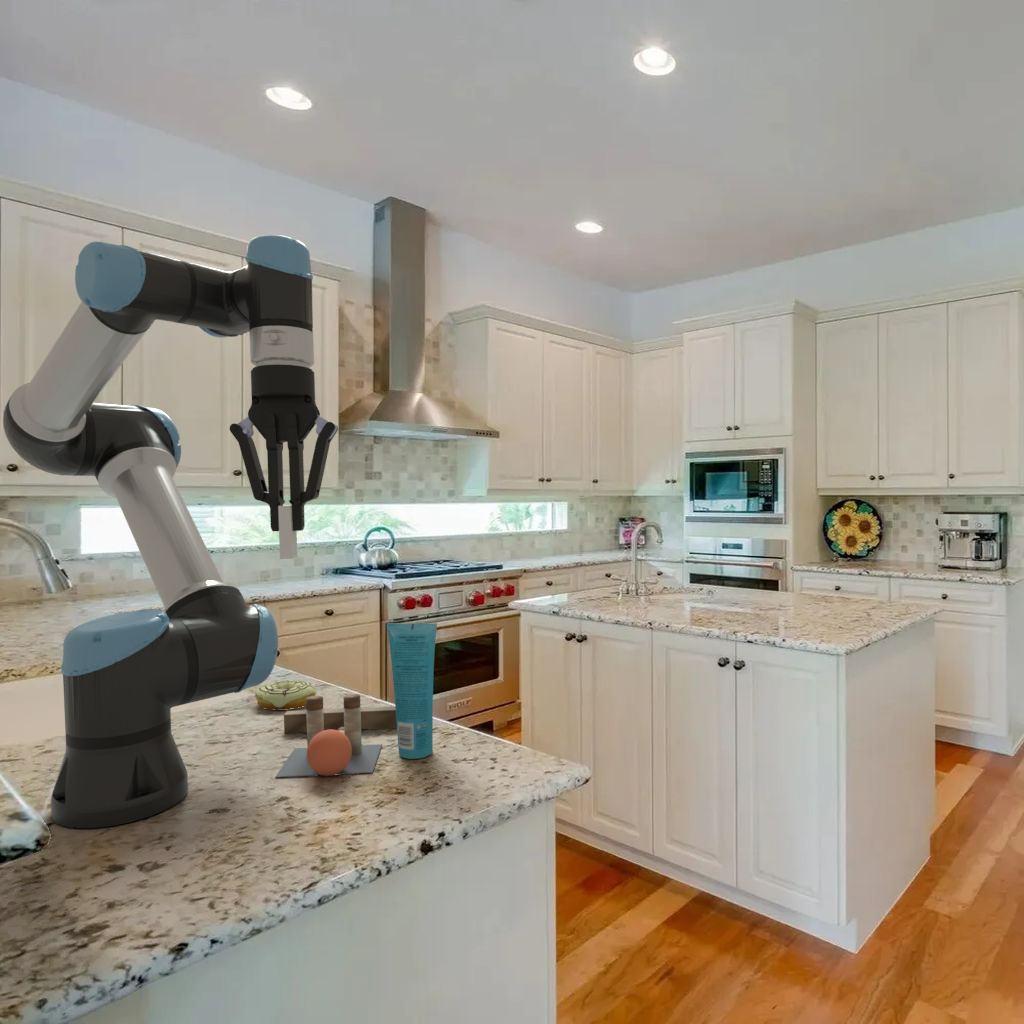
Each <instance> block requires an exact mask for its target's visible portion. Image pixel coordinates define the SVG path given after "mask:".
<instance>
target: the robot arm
mask: <svg viewBox="0 0 1024 1024" xmlns="http://www.w3.org/2000/svg"><path fill="white" fill-rule="evenodd" d="M309 250H310V249H308V246H307V245H305V244H304V243H303V242H302V241H300V240H298V239H295V238H292V237H289V236H285V235H280V234H279V235H278V234H271V235H270V234H267V235H259V236H255V237H253V238H251V239H250V240H249V241H248V244H247V247H246V257H245V261H246V266H243V267H242V268H238V269H236V270H233V271H227V270H226V271H225V270H222V269H221V270H220V269H217V268H214V267H209V266H206V265H202V264H197V263H193V262H189V261H183V260H180V259H176V258H171V257H167V256H165V255H161V254H157V253H152V252H149V251H144V250H142V249H137V248H135V247H132V246H129V245H124V244H119V245H118V244H113V243H109V242H103V241H92V242H89V243H88V244H86V245H85V246H84V247H83V248H82V249H81V251H80V253H79V254H78V257H77V258H78V262H77V264H76V266H75V271H74V272H75V274H74V276H75V277H74V281H75V282H74V283H75V288H76V292H77V295H78V297H79V299H80V303H79V305H78V306H77V308H76V310H75V311H74V313H73V314H72V316H71V317H70V319H69V321H68V322H67V323H66V326H65V327H64V328H63V330H62V332H61V334H59V337H58V338H57V340H56V341H55V342H54V344H53V346H52V348H51V349H50V350H49V352H48V354H46V357H45V358H44V360H43V361H42V362H41V365H40V366H39V367H38V369H37V371H36V373H35V374H34V376H33V377H32V379H31V381H29V382H26V383H24V384H22V385H20V386H18V387H17V388H16V389H15V390H14V391H13V392H12V394H11V395H10V397H9V399H8V400H7V403H6V405H5V407H4V410H3V417H2V418H3V419H2V424H3V425H2V426H3V429H4V434H5V437H6V439H7V441H8V442H9V444H10V446H11V448H12V449H13V450H14V451H15V452H16V453H17V455H18V456H19V457H20V458H21V459H23V460H24V461H26V462H27V463H28V465H31V466H32V467H34V468H36V469H39V470H41V471H42V472H45V473H48V474H53V475H58V476H72V477H73V476H75V477H77V476H82V477H94V478H96V481H97V483H98V486H99V488H100V489H101V491H103V493H104V494H106V495H108V496H109V497H111V498H116V500H117V502H118V504H119V507H120V509H121V512H122V513H123V516H124V519H125V521H126V522H127V525H128V527H129V529H130V532H131V535H132V536H133V538H134V542H135V543H136V546H137V548H138V551H139V552H140V555H141V557H142V560H143V563H144V564H145V566H146V568H147V571H148V573H149V576H150V578H151V580H152V583H153V584H154V587H155V589H156V591H157V594H158V596H159V598H160V601H161V604H162V605H163V608H164V609H163V610H162V609H156V608H153V609H152V608H151V609H150V608H149V609H147V608H146V609H138V610H134V611H124V612H119V613H114V614H110V615H106V616H102V617H99V618H96V619H92V620H90V621H86V622H84V623H81V624H79V625H78V626H76V627H74V628H73V629H71V630H70V631H69V632H68V633H67V634H66V636H65V637H64V640H63V644H62V645H63V647H62V664H61V666H60V670H61V674H62V682H63V703H64V705H63V706H64V728H65V729H64V730H65V752H64V756H63V759H62V761H61V765H60V768H59V771H58V775H57V777H56V779H55V780H56V781H55V783H54V787H53V790H52V793H51V796H50V797H51V798H50V813H51V814H50V818H51V820H52V821H53V822H54V823H55V824H56V825H59V826H61V827H62V826H63V827H65V826H67V827H66V828H71V829H72V828H74V827H76V828H75V829H94V828H95V829H96V828H106V827H111V826H117V825H122V824H128V823H131V822H135V821H136V822H137V821H139V820H143V819H145V818H149V817H151V816H155V815H157V814H160V813H161V812H163V811H166V810H167V809H170V808H171V807H173V806H175V805H176V804H178V803H179V802H181V801H182V800H183V799H184V798H185V797H186V796H187V794H188V792H189V777H188V770H187V768H186V765H185V763H184V760H183V758H182V756H181V753H180V750H179V749H178V746H177V743H176V741H175V739H174V736H173V734H172V733H173V732H172V720H171V719H172V718H171V717H172V711H171V710H172V709H171V708H175V707H179V706H182V705H187V704H191V703H196V702H199V701H203V700H207V699H208V700H209V699H212V698H216V697H220V696H223V695H224V696H225V695H229V694H234V693H235V694H237V693H241V692H242V691H244V690H246V689H250V688H252V687H257V686H259V685H261V684H262V683H264V682H265V681H266V680H267V679H268V678H270V677H269V676H270V675H271V674H272V672H273V670H274V668H275V665H276V663H277V657H278V648H279V635H278V634H279V633H278V628H277V627H278V626H277V623H276V620H275V618H274V616H273V614H272V612H271V610H269V608H267V607H266V606H262V605H261V604H256V603H253V604H251V605H248V604H247V603H246V602H247V601H246V600H245V598H244V596H243V594H242V593H241V590H240V589H239V588H238V587H237V586H235V585H233V584H230V583H224V580H223V578H222V577H221V574H220V573H219V570H218V568H217V566H216V564H215V562H214V560H213V558H212V556H211V554H210V552H209V549H208V548H207V546H206V544H205V542H204V539H203V537H202V535H201V533H200V531H199V529H198V527H197V526H196V523H195V521H194V519H193V517H192V516H191V515H192V514H191V513H190V511H189V509H188V507H187V505H186V503H185V501H184V498H183V496H182V495H181V492H180V490H179V489H178V488H179V487H178V485H177V484H176V481H175V480H174V476H175V474H176V471H177V468H178V466H179V464H180V461H181V456H182V444H180V443H179V441H180V439H181V438H180V434H179V431H178V428H177V426H176V424H175V423H174V421H173V420H172V419H171V417H170V416H169V415H168V414H167V413H165V412H164V411H163V410H161V409H158V408H155V407H154V408H153V407H145V406H143V405H139V404H131V405H123V404H109V403H100V402H95V401H96V399H97V398H98V397H99V395H100V394H101V393H102V391H103V390H104V389H105V388H106V387H107V384H108V383H109V382H110V381H111V379H112V378H113V377H114V375H115V374H116V373H117V371H118V370H119V369H120V367H121V366H122V365H123V363H124V362H125V361H126V359H127V358H128V357H129V355H130V354H131V352H132V351H133V350H134V348H135V347H136V345H138V343H139V341H140V340H141V339H142V338H143V336H144V335H145V334H146V332H147V331H148V330H149V329H150V328H151V327H152V325H153V324H154V322H155V321H156V320H158V321H164V322H170V323H171V322H172V323H176V324H183V325H188V326H193V327H198V328H199V329H201V330H202V331H203V332H204V333H206V334H208V335H209V336H212V337H215V338H228V337H229V338H231V337H232V338H234V337H238V336H242V335H244V334H247V333H248V332H249V353H250V355H249V356H250V363H251V364H252V365H254V367H253V368H252V369H251V370H250V389H251V390H250V391H251V394H250V395H251V405H250V408H249V409H248V412H247V416H246V417H245V418H244V419H242V420H241V421H239V422H238V423H232V424H231V425H229V431H230V432H231V434H232V436H233V437H234V438H235V440H236V442H237V443H238V446H239V449H240V452H241V456H242V459H243V463H244V467H245V470H246V474H247V477H248V481H249V485H250V488H251V492H252V495H253V498H254V500H256V501H258V502H262V503H265V504H267V505H268V506H269V513H270V514H269V515H270V516H269V517H270V520H269V521H270V529H271V531H272V532H278V538H279V540H278V541H279V542H278V543H279V560H285V559H286V560H288V559H289V560H291V559H295V558H297V557H298V537H297V535H298V534H297V533H298V532H300V531H304V530H305V525H306V524H305V505H306V504H307V503H308V502H310V501H313V500H316V499H318V498H319V496H320V493H321V492H320V491H321V487H322V482H323V478H324V473H325V469H326V463H327V461H328V460H327V458H328V456H329V455H328V454H329V449H330V446H331V445H330V444H331V442H332V440H333V439H334V437H335V435H336V434H337V432H338V431H339V427H338V425H337V424H336V423H333V422H331V421H328V420H326V419H325V418H324V417H322V416H321V412H320V410H319V409H318V406H317V404H316V388H315V387H316V386H315V385H316V381H315V372H314V371H313V369H312V368H311V367H312V366H314V364H315V350H314V349H315V346H314V331H313V328H314V324H313V322H314V321H313V320H314V319H313V318H314V317H313V315H314V314H313V280H314V279H313V278H314V277H313V275H312V266H311V256H310V255H311V254H310V251H309ZM315 426H316V429H315V433H316V434H317V439H316V441H315V446H314V452H313V456H312V459H311V465H310V470H309V474H308V479H307V482H306V488H305V473H304V472H305V471H304V470H305V469H304V467H305V466H304V450H305V449H304V448H305V443H304V441H305V440H306V438H307V437H308V436H309V434H310V433H311V432H312V429H314V427H315ZM254 427H255V428H256V430H257V431H258V432H259V433H260V435H261V436H262V438H264V439H265V446H266V451H267V483H268V485H267V483H266V480H265V475H264V473H263V469H262V465H261V462H260V458H259V455H258V452H257V447H256V445H255V441H254V439H253V437H254V434H255V432H254ZM284 443H287V444H286V445H287V450H288V467H289V468H288V470H289V472H288V473H289V499H288V502H289V503H290V505H284V504H285V503H286V500H285V499H284V496H285V495H284V468H283V465H284V462H283V451H284Z"/></svg>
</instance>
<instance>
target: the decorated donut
mask: <svg viewBox="0 0 1024 1024" xmlns="http://www.w3.org/2000/svg"><path fill="white" fill-rule="evenodd" d="M311 696H317V689H316V687H315V685H314V684H313V683H310V682H308V681H304V680H295V679H292V680H291V679H289V680H288V679H287V680H276V681H273V682H271V683H268V684H264V685H261V686H259V687H258V688H257V689H256V690H255V694H254V697H255V700H256V702H257V704H258V706H259V707H260V708H261V709H263V708H266V709H265V710H267V709H290V708H298V707H302V706H306V698H307V697H311ZM302 708H303V707H302ZM298 709H299V708H298Z"/></svg>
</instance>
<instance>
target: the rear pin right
mask: <svg viewBox="0 0 1024 1024" xmlns="http://www.w3.org/2000/svg"><path fill="white" fill-rule="evenodd" d="M305 710H306V715H307V732H306V740H307V741H306V745H307V747H306V748H308V745H309V743H310V741H311V740H312V738H313V737H314V736H315V735H317V734H318V733H320V732H322V731H324V715H323V710H324V696H322V695H315V696H311V697H307V698H306V707H305Z"/></svg>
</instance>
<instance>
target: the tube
mask: <svg viewBox="0 0 1024 1024" xmlns="http://www.w3.org/2000/svg"><path fill="white" fill-rule="evenodd" d="M437 628H438V623H437V622H435V623H434V622H433V623H432V622H431V623H430V622H429V623H403V622H402V623H400V622H399V623H398V622H396V623H395V622H393V623H392V622H390V623H389V622H388V623H386V630H387V635H388V636H387V637H388V643H389V651H390V652H389V653H390V659H391V667H392V668H391V669H392V670H391V672H392V682H393V693H394V695H393V696H394V707H395V708H396V721H397V728H396V730H397V732H396V733H397V744H398V745H397V746H398V755H399V756H400V757H401V758H404V759H408V760H414V759H415V760H416V759H423V758H426V757H428V756H430V755H432V754H433V751H434V750H433V747H434V745H433V743H434V742H433V727H434V725H433V722H434V721H433V720H434V718H433V716H434V715H433V714H434V713H433V712H434V711H433V710H434V709H433V708H434V707H433V706H434V703H433V702H434V701H433V700H434V669H435V668H434V667H435V649H436V639H437V630H438V629H437Z"/></svg>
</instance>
